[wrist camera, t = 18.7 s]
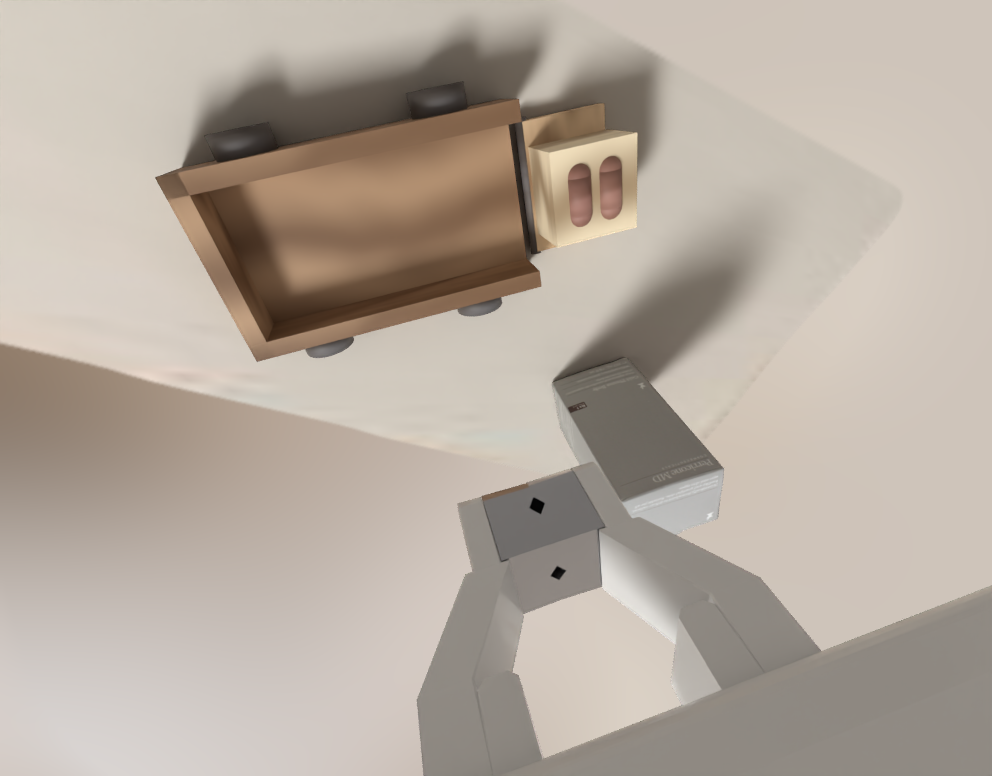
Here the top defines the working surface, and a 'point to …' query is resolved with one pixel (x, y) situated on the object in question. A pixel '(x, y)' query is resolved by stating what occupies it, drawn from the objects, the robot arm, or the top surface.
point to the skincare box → (639, 446)
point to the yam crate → (585, 186)
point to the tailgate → (545, 132)
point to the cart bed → (359, 223)
